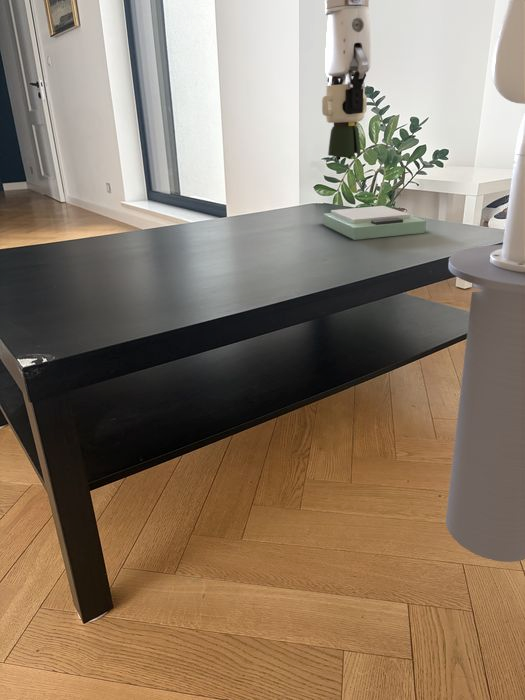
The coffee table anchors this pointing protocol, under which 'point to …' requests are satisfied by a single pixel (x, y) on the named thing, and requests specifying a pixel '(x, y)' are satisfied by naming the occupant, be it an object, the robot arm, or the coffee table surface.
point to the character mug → (342, 122)
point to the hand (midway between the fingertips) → (345, 112)
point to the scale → (373, 222)
